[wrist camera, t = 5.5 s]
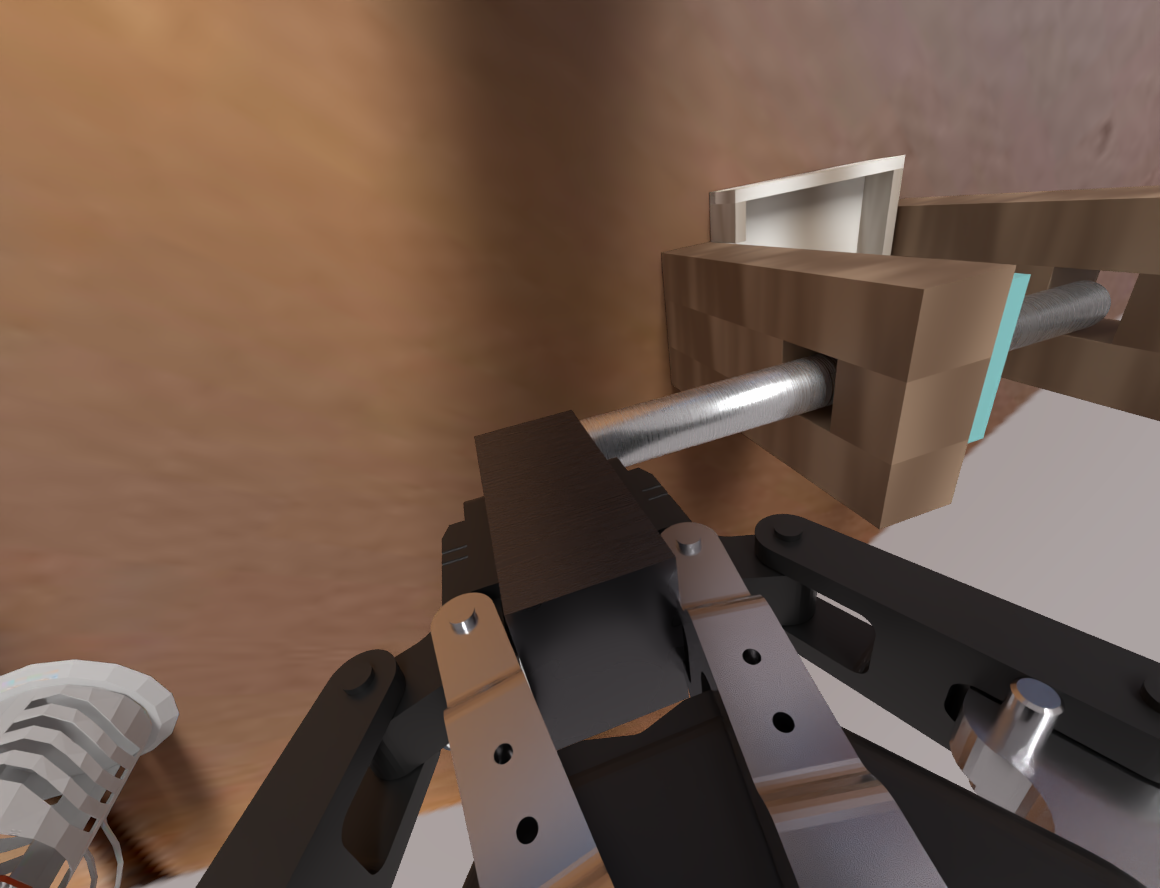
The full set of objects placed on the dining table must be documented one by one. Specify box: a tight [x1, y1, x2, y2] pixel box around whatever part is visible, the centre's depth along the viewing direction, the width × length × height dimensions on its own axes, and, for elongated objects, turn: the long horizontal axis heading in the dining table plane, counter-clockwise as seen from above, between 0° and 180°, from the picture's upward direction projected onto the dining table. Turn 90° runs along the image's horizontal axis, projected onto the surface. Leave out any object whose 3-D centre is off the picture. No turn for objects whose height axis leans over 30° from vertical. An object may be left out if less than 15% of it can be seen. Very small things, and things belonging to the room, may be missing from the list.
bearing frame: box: [661, 155, 1160, 529], centre depth 22 cm, size 16×13×16 cm
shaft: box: [474, 281, 1111, 750], centre depth 14 cm, size 26×4×9 cm, turn 100°
